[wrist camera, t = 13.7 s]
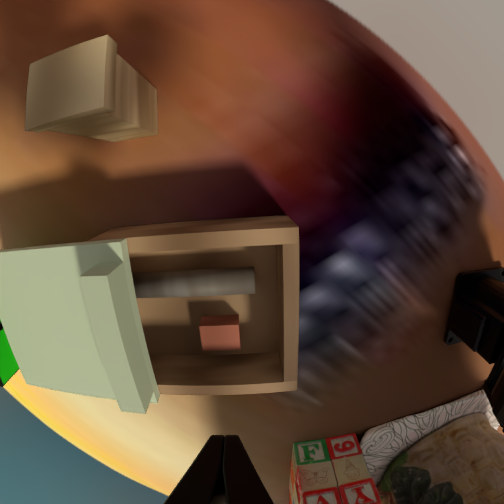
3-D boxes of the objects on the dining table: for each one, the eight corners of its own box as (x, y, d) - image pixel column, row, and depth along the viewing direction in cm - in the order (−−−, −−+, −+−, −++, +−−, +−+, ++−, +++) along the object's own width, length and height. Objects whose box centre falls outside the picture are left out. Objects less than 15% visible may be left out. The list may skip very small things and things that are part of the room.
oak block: (163, 88, 16) (107, 34, 8) (164, 133, 17) (103, 106, 8) (108, 99, 16) (29, 64, 8) (109, 143, 17) (24, 130, 8)
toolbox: (286, 215, 18) (298, 227, 14) (288, 355, 21) (296, 390, 17) (48, 234, 18) (15, 247, 14) (78, 354, 21) (57, 382, 17)
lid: (126, 238, 14) (103, 252, 11) (160, 395, 17) (150, 425, 14) (-10, 251, 14) (-37, 262, 11) (31, 378, 17) (14, 398, 14)
